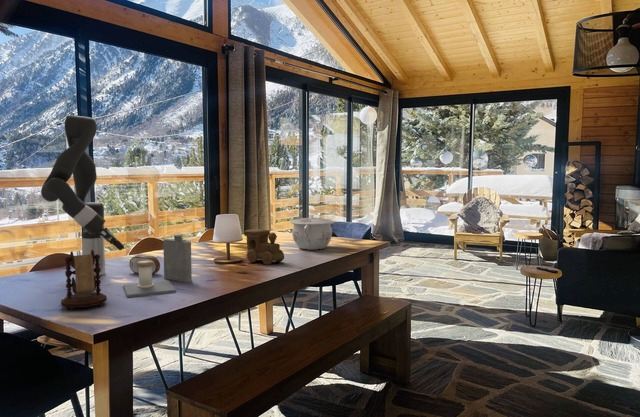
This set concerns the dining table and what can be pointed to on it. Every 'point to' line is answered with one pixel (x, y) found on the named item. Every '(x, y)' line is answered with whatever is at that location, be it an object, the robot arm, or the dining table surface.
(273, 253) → the wooden toy train
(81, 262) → the scroll
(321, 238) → the chamber pot
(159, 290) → the mat
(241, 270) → the dining table surface
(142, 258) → the tin
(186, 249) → the hip flask
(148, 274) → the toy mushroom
